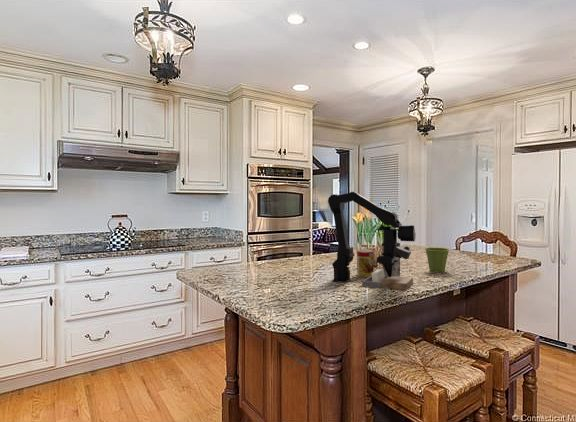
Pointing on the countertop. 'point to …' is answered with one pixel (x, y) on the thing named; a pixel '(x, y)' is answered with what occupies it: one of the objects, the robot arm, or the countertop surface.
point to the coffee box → (395, 267)
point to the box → (372, 284)
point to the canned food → (365, 263)
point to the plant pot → (437, 258)
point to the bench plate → (397, 282)
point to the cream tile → (378, 275)
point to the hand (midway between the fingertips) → (390, 276)
